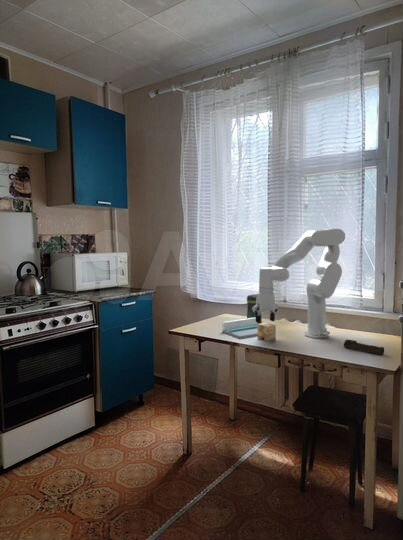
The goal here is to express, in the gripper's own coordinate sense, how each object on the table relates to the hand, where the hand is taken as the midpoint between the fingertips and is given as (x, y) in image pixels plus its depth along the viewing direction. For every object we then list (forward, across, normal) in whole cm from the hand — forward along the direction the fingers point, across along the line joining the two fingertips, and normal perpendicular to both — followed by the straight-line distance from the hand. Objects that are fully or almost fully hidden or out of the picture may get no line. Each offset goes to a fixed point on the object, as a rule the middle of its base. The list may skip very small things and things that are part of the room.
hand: (265, 321), depth 209 cm
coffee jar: (+10, -19, -35) cm, 41 cm away
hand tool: (+9, -25, +43) cm, 50 cm away
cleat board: (+10, -1, -17) cm, 19 cm away
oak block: (+10, -1, 0) cm, 10 cm away
